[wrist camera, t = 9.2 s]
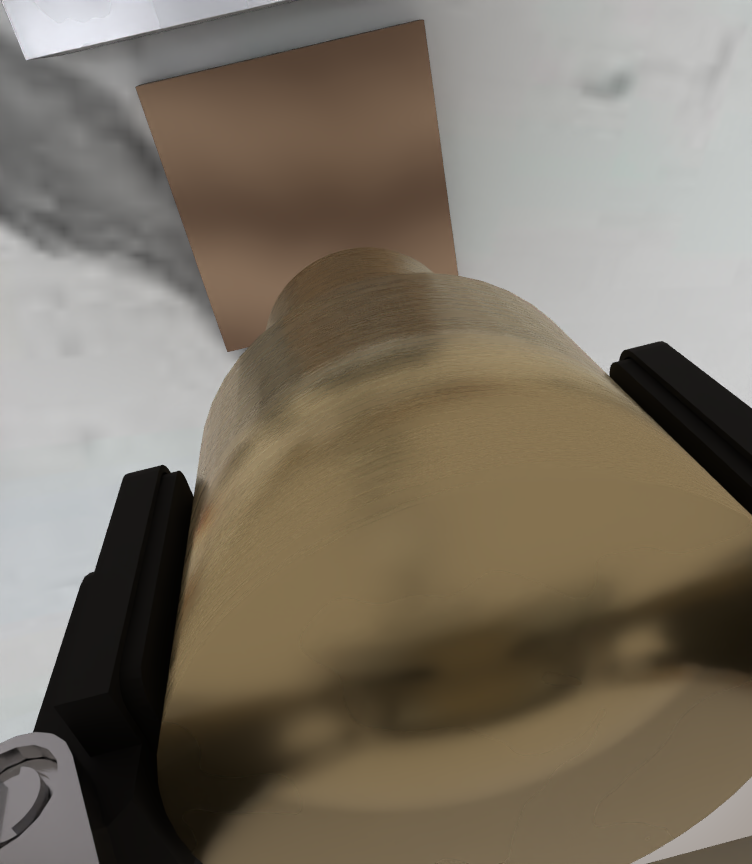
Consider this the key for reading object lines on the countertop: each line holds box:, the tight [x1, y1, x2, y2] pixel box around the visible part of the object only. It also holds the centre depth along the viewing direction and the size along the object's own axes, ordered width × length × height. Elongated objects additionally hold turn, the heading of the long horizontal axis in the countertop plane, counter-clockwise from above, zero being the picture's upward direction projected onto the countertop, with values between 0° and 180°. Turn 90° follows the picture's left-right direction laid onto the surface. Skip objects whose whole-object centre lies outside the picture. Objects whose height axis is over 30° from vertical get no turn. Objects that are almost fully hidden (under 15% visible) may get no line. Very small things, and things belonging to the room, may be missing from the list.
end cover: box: [157, 247, 752, 864], centre depth 11 cm, size 6×6×10 cm
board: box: [136, 20, 458, 352], centre depth 28 cm, size 11×11×1 cm
